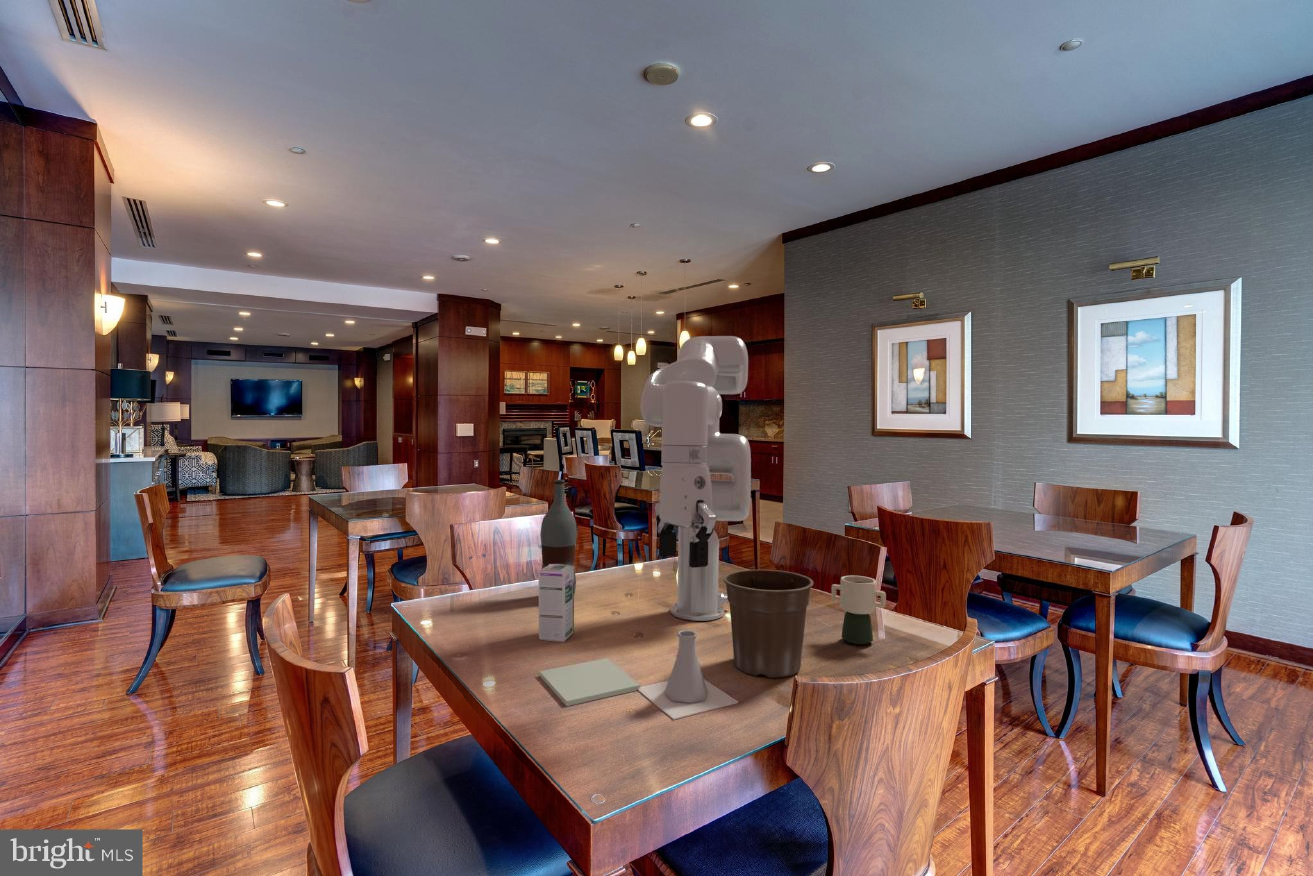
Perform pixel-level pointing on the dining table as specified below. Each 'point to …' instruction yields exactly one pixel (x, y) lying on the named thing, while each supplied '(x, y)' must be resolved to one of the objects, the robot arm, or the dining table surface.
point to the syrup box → (556, 602)
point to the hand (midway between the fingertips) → (682, 561)
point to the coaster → (588, 681)
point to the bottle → (558, 532)
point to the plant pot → (768, 620)
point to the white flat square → (685, 709)
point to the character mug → (858, 607)
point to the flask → (686, 672)
